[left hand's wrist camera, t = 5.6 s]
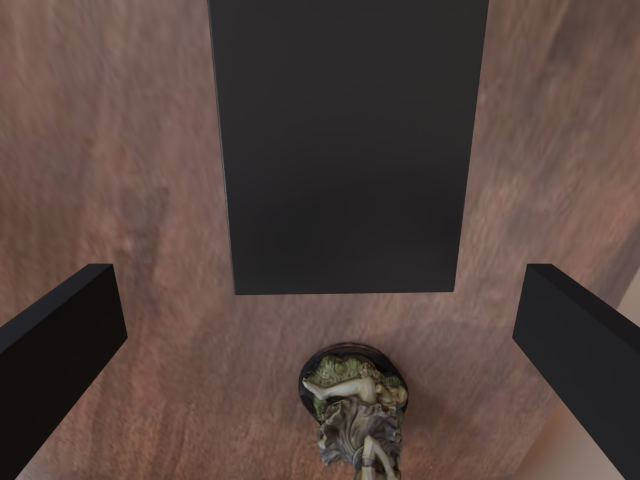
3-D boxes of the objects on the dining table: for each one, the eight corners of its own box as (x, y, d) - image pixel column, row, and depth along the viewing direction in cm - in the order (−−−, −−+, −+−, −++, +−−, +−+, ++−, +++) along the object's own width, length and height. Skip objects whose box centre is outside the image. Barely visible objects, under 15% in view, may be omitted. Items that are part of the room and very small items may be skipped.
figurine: (413, 429, 41) (465, 601, 27) (312, 444, 41) (311, 621, 27) (400, 333, 37) (455, 476, 23) (289, 351, 37) (274, 503, 23)
